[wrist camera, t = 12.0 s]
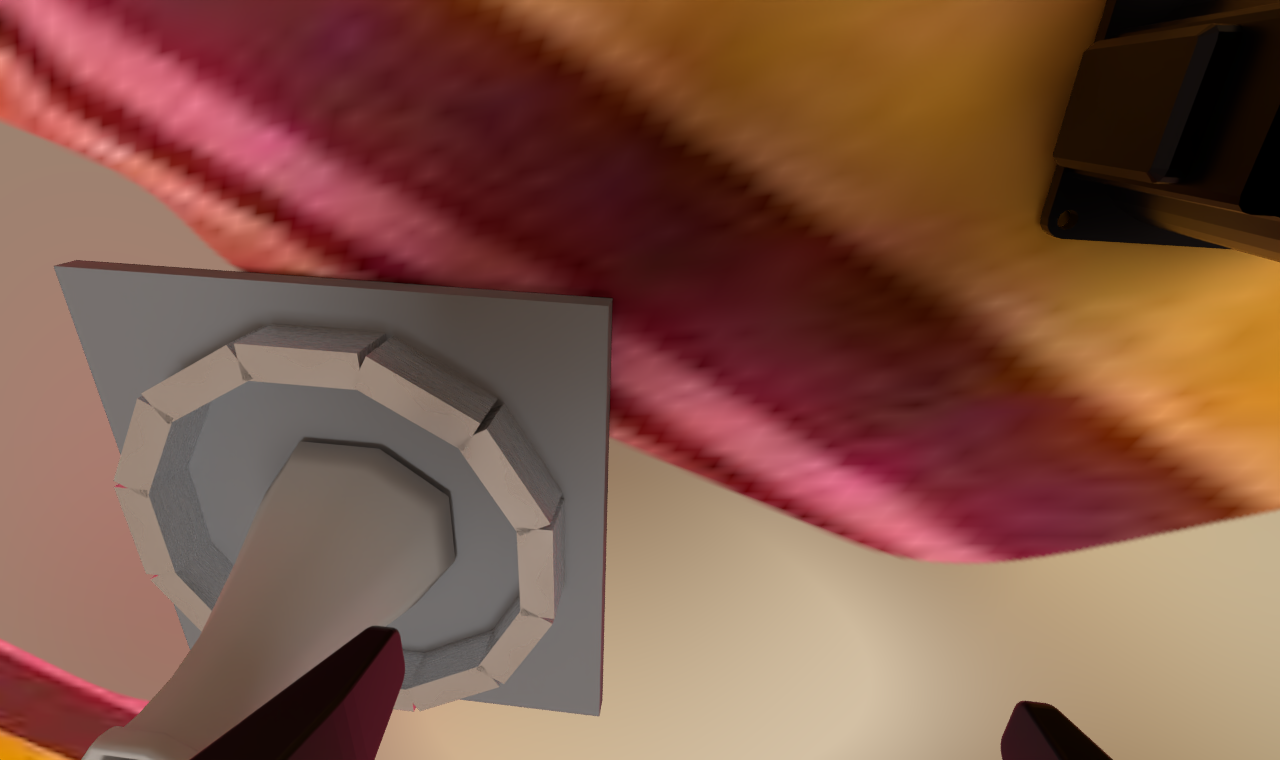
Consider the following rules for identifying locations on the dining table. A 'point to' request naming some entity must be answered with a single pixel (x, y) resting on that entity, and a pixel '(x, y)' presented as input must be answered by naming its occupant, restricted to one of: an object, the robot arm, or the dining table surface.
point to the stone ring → (401, 382)
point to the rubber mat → (386, 429)
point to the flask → (298, 593)
